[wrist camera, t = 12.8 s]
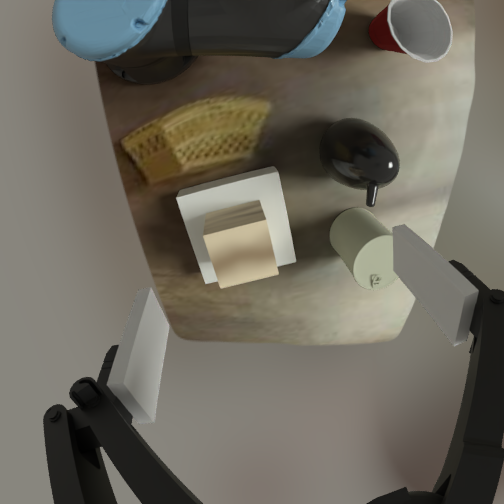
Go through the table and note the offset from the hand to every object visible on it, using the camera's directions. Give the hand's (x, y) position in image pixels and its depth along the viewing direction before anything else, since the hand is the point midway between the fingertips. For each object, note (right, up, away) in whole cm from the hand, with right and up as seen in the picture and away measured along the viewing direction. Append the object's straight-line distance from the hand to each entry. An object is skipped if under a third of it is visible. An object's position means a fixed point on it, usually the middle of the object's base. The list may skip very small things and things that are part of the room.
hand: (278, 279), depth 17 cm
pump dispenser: (+13, +18, +31) cm, 38 cm away
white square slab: (-4, +6, +35) cm, 36 cm away
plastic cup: (+20, +36, +23) cm, 47 cm away
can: (+16, +5, +38) cm, 42 cm away
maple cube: (-3, +5, +32) cm, 32 cm away
